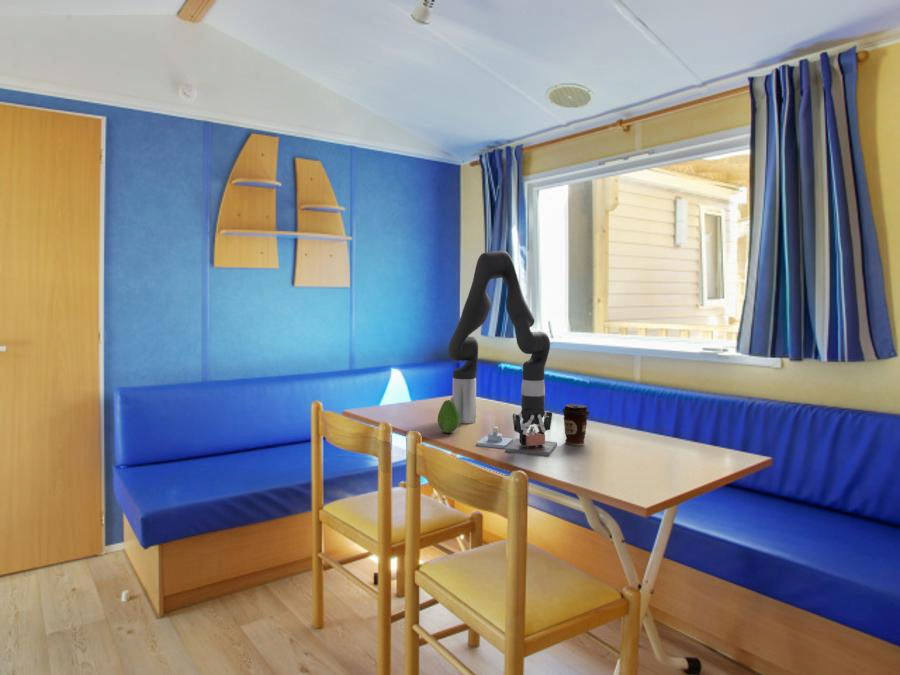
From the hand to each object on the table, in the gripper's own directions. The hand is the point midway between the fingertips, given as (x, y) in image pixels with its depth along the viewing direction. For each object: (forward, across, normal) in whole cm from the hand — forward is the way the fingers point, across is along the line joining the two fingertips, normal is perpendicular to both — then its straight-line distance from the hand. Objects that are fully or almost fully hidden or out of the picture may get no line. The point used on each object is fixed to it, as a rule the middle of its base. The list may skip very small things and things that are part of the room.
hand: (532, 444), depth 200 cm
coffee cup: (+2, +17, 0) cm, 17 cm away
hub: (+1, 0, 0) cm, 1 cm away
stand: (+2, -8, +10) cm, 13 cm away
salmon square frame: (0, 0, 0) cm, 0 cm away
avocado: (+2, -16, +31) cm, 35 cm away
